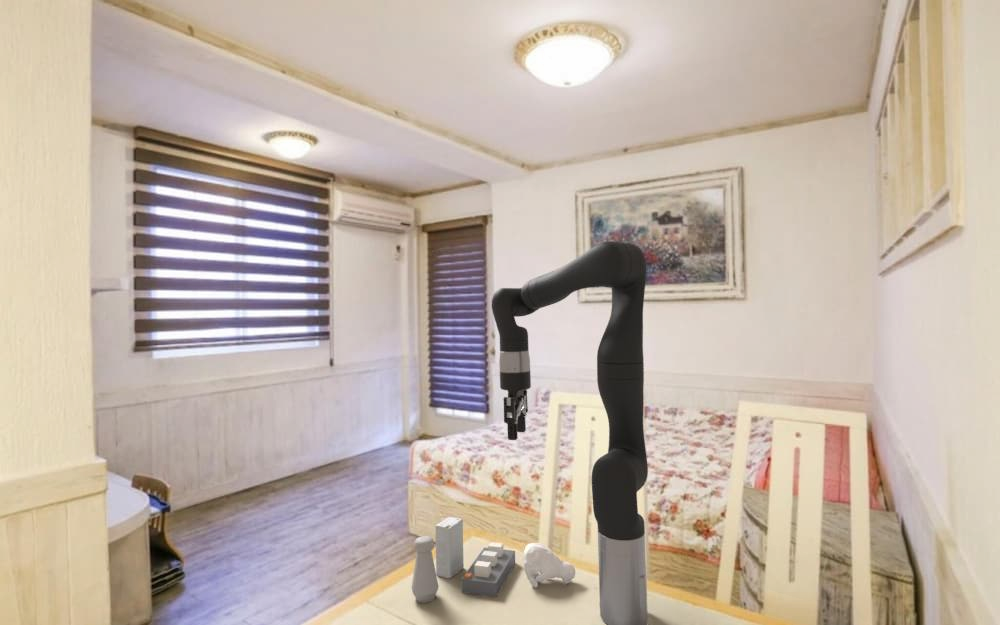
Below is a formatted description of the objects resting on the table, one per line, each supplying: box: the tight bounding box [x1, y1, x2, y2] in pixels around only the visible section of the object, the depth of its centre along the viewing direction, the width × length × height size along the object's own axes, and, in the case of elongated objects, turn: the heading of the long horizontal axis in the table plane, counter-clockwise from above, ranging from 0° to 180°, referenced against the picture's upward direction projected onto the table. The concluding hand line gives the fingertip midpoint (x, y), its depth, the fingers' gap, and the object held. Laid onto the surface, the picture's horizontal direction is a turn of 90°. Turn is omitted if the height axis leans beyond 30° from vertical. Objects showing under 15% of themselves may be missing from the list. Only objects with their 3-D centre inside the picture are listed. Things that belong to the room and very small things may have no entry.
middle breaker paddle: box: [481, 551, 498, 567], centre depth 123 cm, size 3×2×2 cm
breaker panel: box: [461, 541, 516, 598], centre depth 123 cm, size 8×16×5 cm, turn 163°
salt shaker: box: [411, 535, 439, 604], centre depth 114 cm, size 6×6×13 cm
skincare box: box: [434, 516, 465, 579], centre depth 126 cm, size 6×4×12 cm
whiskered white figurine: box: [522, 542, 576, 588], centre depth 120 cm, size 6×8×12 cm
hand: (517, 435), depth 128 cm, fingers open, 8 cm apart
